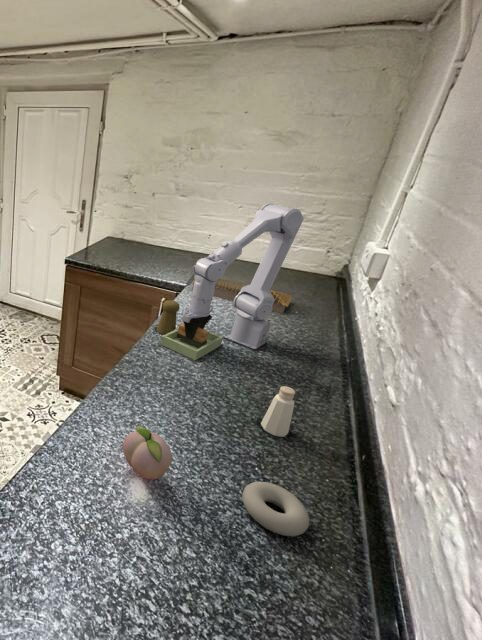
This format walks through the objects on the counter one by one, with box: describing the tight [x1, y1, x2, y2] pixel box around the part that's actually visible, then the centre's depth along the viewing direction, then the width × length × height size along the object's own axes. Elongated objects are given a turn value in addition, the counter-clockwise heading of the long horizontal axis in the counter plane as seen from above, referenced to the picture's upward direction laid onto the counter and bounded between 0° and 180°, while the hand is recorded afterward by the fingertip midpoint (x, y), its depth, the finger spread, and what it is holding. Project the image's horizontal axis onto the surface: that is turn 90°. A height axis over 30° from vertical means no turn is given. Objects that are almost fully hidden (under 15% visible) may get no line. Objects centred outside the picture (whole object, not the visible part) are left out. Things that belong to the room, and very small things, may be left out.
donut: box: [241, 481, 310, 537], centre depth 70 cm, size 10×4×10 cm
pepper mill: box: [156, 299, 180, 335], centre depth 133 cm, size 6×6×11 cm
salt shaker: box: [260, 385, 296, 438], centre depth 89 cm, size 5×5×11 cm
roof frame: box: [190, 277, 294, 314], centre depth 165 cm, size 35×14×6 cm, turn 48°
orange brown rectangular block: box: [177, 322, 210, 347], centre depth 126 cm, size 8×4×4 cm, turn 37°
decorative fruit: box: [122, 426, 173, 480], centre depth 77 cm, size 9×8×10 cm
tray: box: [160, 328, 224, 361], centre depth 126 cm, size 12×16×3 cm
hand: (192, 336), depth 126 cm, fingers closed on orange brown rectangular block, 3 cm apart
